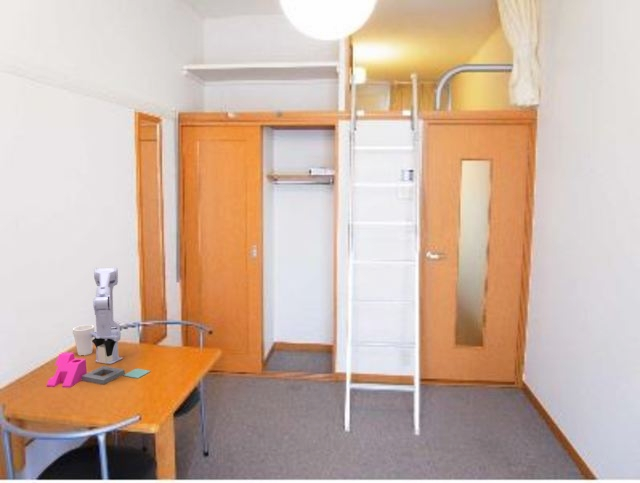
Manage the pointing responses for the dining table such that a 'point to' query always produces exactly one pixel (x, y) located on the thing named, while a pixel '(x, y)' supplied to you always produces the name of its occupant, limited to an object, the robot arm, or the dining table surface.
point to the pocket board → (96, 378)
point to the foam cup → (83, 339)
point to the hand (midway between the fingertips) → (105, 354)
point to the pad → (136, 373)
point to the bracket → (68, 371)
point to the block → (103, 355)
